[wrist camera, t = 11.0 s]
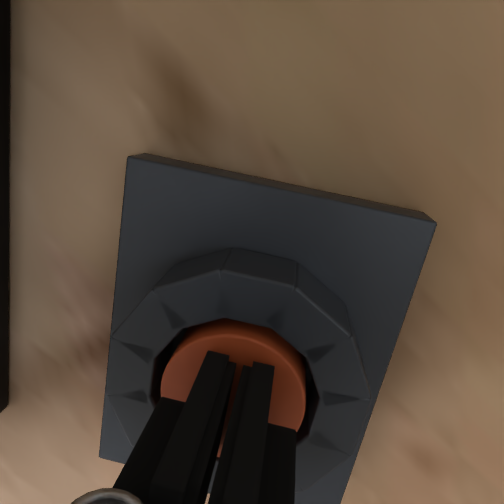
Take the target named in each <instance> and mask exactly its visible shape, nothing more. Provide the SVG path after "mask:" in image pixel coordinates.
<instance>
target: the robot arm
mask: <svg viewBox="0 0 504 504" xmlns="http://www.w3.org/2000/svg"><path fill="white" fill-rule="evenodd" d="M236 364H237V363H234V362H229V355H226V354H222V353H218V352H214V351H209V350H208V351H207V353H206V356H205V358H204V360H203V363H202V365H201V367H200V370H199V372H198V374H197V377H196V379H195V381H194V383H193V386H192V388H191V390H190V393H189V395H188V397H187V400H186V402H182V401H178V400H174V399H170V398H166V397H161V398H160V400H159V401H158V403H157V405H156V407H155V409H154V411H153V412H152V414H151V416H150V418H149V420H148V422H147V424H146V426H145V428H144V429H143V431H142V433H141V435H140V437H139V439H138V441H137V443H136V445H135V446H134V448H133V450H132V452H131V454H130V456H129V458H128V460H127V461H126V463H125V465H124V467H123V469H122V471H121V473H120V475H119V477H118V478H117V480H116V482H115V484H114V486H113V488H102V489H98V490H95V491H91V492H88V493H86V494H84V495H82V496H81V497H79V498H77V499H75V500H74V501H73V502H72V503H71V504H205V501H206V497H207V493H208V489H209V485H210V482H211V478H212V474H213V470H214V467H215V463H216V459H217V454H218V450H219V445H220V440H221V436H222V431H223V426H224V421H225V417H226V412H227V407H228V402H229V398H230V393H231V388H232V383H233V379H234V374H235V369H236ZM274 369H275V366H272V365H268V364H264V363H260V362H255V361H253V365H252V367H250V366H246V365H243V368H242V372H241V376H240V380H239V384H238V388H237V392H236V396H235V400H234V403H233V407H232V411H231V415H230V419H229V423H228V427H227V431H226V435H225V438H224V442H223V446H222V450H221V454H220V458H219V462H218V466H217V470H216V473H215V477H214V481H213V485H212V489H211V493H210V498H209V502H208V504H294V502H295V468H296V429H291V428H287V427H283V426H279V425H275V424H271V423H268V417H269V409H270V401H271V393H272V385H273V377H274Z"/></svg>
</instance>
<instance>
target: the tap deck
mask: <svg viewBox="0 0 504 504" xmlns="http://www.w3.org/2000/svg"><path fill="white" fill-rule="evenodd" d="M9 117H10V0H0V413H1V412H2V411H3V410H4V409H5V408H6V407H7V405H8V282H9Z"/></svg>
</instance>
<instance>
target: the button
mask: <svg viewBox="0 0 504 504" xmlns="http://www.w3.org/2000/svg"><path fill="white" fill-rule="evenodd" d="M208 350H209V351H214V352H218V353H222V354H226V355H229V362H234V363H237V364H236V369H235V374H234V379H233V383H232V388H231V393H230V398H229V402H228V407H227V412H226V417H225V421H224V426H223V431H222V436H221V440H220V445H219V450H218V454H217V457H220V454H221V450H222V446H223V442H224V438H225V435H226V431H227V427H228V423H229V419H230V415H231V411H232V407H233V403H234V400H235V396H236V392H237V388H238V384H239V380H240V376H241V372H242V368H243V365H246V366H250V367H252V365H253V361H255V362H260V363H264V364H268V365H272V366H275V369H274V377H273V385H272V393H271V401H270V409H269V417H268V423H271V424H275V425H279V426H283V427H287V428H291V429H296V432H297V431H298V429H299V427H300V426H301V423H302V421H303V418H304V413H305V406H306V362H305V357H304V356H303V355H302V354H301V353H300V352H298V351H297V350H296V349H295V348H294V347H293V346H291V345H290V344H289V343H288V342H287V341H286V340H284V339H283V338H282V337H281V336H280V335H278V334H277V333H276V332H275V331H274V330H273V329H271V328H267V327H262V326H258V325H254V324H249V323H245V322H241V321H237V320H232V319H228V318H221V319H218V320H214V321H210V322H206V323H202V324H199V325H195V326H191V327H189V328H188V329H187V331H186V333H185V334H184V336H183V338H182V339H181V341H180V343H179V345H178V347H177V348H176V350H175V352H174V354H173V355H172V357H171V359H170V361H169V362H168V364H167V366H166V368H165V370H164V373H163V376H162V381H161V397H166V398H170V399H174V400H178V401H182V402H186V400H187V397H188V395H189V393H190V390H191V388H192V386H193V383H194V381H195V379H196V377H197V374H198V372H199V370H200V367H201V365H202V363H203V360H204V358H205V356H206V353H207V351H208Z"/></svg>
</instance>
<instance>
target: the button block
mask: <svg viewBox="0 0 504 504" xmlns="http://www.w3.org/2000/svg"><path fill="white" fill-rule="evenodd" d="M436 226H437V222H435V221H434V220H433V219H432V218H430V217H429V216H428V215H426V214H425V213H424V212H419V211H415V210H410V209H405V208H400V207H396V206H391V205H386V204H382V203H377V202H372V201H368V200H363V199H358V198H353V197H349V196H344V195H339V194H335V193H330V192H325V191H321V190H316V189H311V188H306V187H302V186H297V185H292V184H288V183H283V182H278V181H274V180H269V179H264V178H259V177H255V176H250V175H245V174H241V173H236V172H231V171H227V170H222V169H217V168H212V167H208V166H203V165H198V164H194V163H189V162H184V161H180V160H175V159H170V158H166V157H161V156H156V155H151V154H147V153H143V154H138V155H133V156H128V158H127V166H126V176H125V187H124V197H123V208H122V218H121V229H120V239H119V250H118V260H117V271H116V282H115V292H114V303H113V313H112V324H111V334H110V345H109V355H108V366H107V376H106V387H105V397H104V408H103V418H102V429H101V439H100V450H99V457H100V458H103V459H107V460H111V461H115V462H119V463H123V464H125V463H126V461H127V460H128V458H129V456H130V454H131V452H132V450H133V448H134V446H135V445H136V443H137V441H138V439H139V437H140V435H141V433H142V431H143V429H144V428H145V426H146V424H147V422H148V420H149V418H150V416H151V414H152V412H153V411H154V409H155V407H156V405H157V403H158V401H159V400H160V398H161V381H162V376H163V373H164V370H165V368H166V366H167V364H168V362H169V361H170V359H171V357H172V355H173V354H174V352H175V350H176V348H177V347H178V345H179V343H180V341H181V339H182V338H183V336H184V334H185V333H186V331H187V329H188V328H189V327H191V326H195V325H199V324H202V323H206V322H210V321H214V320H218V319H221V318H228V319H232V320H237V321H241V322H245V323H249V324H254V325H258V326H262V327H267V328H271V329H273V330H274V331H275V332H276V333H277V334H278V335H280V336H281V337H282V338H283V339H284V340H286V341H287V342H288V343H289V344H290V345H291V346H293V347H294V348H295V349H296V350H297V351H298V352H300V353H301V354H302V355H303V356H304V357H305V362H306V406H305V413H304V418H303V421H302V423H301V426H300V427H299V429H298V431H297V432H296V468H295V502H294V504H340V503H341V500H342V497H343V495H344V492H345V489H346V486H347V483H348V480H349V477H350V474H351V471H352V469H353V466H354V463H355V460H356V457H357V454H358V451H359V448H360V445H361V443H362V440H363V437H364V434H365V431H366V428H367V425H368V422H369V419H370V417H371V414H372V411H373V408H374V405H375V402H376V399H377V396H378V393H379V391H380V388H381V385H382V382H383V379H384V376H385V373H386V370H387V367H388V365H389V362H390V359H391V356H392V353H393V350H394V347H395V344H396V341H397V339H398V336H399V333H400V330H401V327H402V324H403V321H404V318H405V315H406V313H407V310H408V307H409V304H410V301H411V298H412V295H413V292H414V289H415V287H416V284H417V281H418V278H419V275H420V272H421V269H422V266H423V263H424V261H425V258H426V255H427V252H428V249H429V246H430V243H431V240H432V237H433V235H434V232H435V229H436ZM219 458H220V457H217V459H216V463H215V467H214V470H213V474H212V478H211V482H210V485H209V489H208V493H209V494H210V493H211V489H212V485H213V481H214V477H215V473H216V470H217V466H218V462H219Z"/></svg>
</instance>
